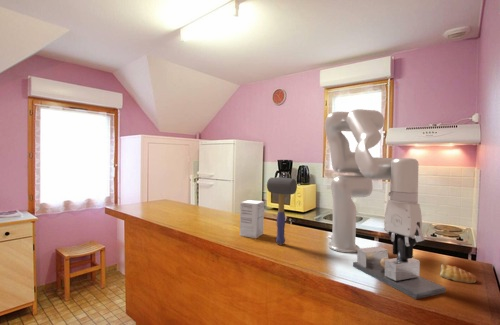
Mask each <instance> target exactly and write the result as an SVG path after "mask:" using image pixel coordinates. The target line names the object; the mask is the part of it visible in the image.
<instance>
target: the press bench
mask: <svg viewBox="0 0 500 325" xmlns="http://www.w3.org/2000/svg"><path fill="white" fill-rule="evenodd" d="M356 253H357V258H356V261H352V267H353V268H355V269H357V270H359V271H361V272H362V273H365V274H366V275H369V276H371V278H374V279H375V280H378V281H380V282H382V283H384V284H386V285H388V286H389V287H392V288H394V289H395V290H397V291H399V292H401V293H402V294H405V295H407V296H409V297H410V298H412V299H414V300H418V299H423V298H427V297H431V296H435V295H436V296H437V295H441V294H446V292H447V291H446V287H445V286H444V285H441V284H439V283H436V282H434V281H432V280H429V279H428V278H424V277H422V276H420V275H419V277H415V278H409V279H404V280H398V281H395V280H393V279H391V278H389V277H387V276H385V270H384V269H383V268H382V267H381V265H380V261H381V259H383V258H389V249H387V248H384V247H383V246H382V247H381V246H371V247H362V248H359V249H358V251H357V252H356Z"/></svg>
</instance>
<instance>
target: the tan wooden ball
mask: <svg viewBox="0 0 500 325" xmlns="http://www.w3.org/2000/svg"><path fill="white" fill-rule="evenodd" d="M386 259H390V258H389V257H388V258H383V259H381V261H380V265H381V267H382V268H383V269H384V270H385V260H386Z"/></svg>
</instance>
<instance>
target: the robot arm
mask: <svg viewBox="0 0 500 325" xmlns="http://www.w3.org/2000/svg"><path fill="white" fill-rule="evenodd" d="M384 124H385V117H384V115H383V113H381V112H380V111H379V110H375V109H353V110H352V111H333V112H330V113H329V114H328V115H327V116H326V117H325V121H324V132H325V136H326V139H327V142H328V145H329V153H330V161H331V166H332V170H333V171H334V172H335V173H339V174H344V175H337V176H335V177H334V178H333V179H332V180H331V183H330V189H331V196H332V233H331V234H330V235H328V238H329V239H330V242H328V248H329V249H331V250H333V251H337V252H341V253H350V254H351V253H357V251H358V249H360V246H359V245H357V244H356V233H357V231H356V230H357V229H356V227H357V208H356V205H355V202H354V201H353V199H352V198H367V197H369V196H370V195H372V193H373V180H374V181H376V180H377V181H378V180H379V181H380V180H382V181H383V180H384V181H390V183H389V184H390V188H389V189H390V190H389V191H390V192H388V194H387V196H389V199H388V200H387V202H386V206H385V212H384V225H383V227H384V231H385V233H387V234H388V235H389V237H390V240H391V242H392V255H394V256H397V234H399V235H403V236H405V245H404V246H403V258H404V259H410V258H414V246H416V245H417V243H419V242H423V241H425V237H424V235H423V221H422V220H423V218H422V210H421V205H420V203H419V201H418V200H419V165H420V164H419V161H418V160H417V159H416V158H412V157H411V158H408V157H404V158H403V157H398V158H397V157H396V158H395V157H373V155H372V154H371V152H370V151H369V150H370V149H372V148H373V147H375V146H376V145H378V144H379V143H380V141H381V140H382V134H381V131H380V130H381V129H382V128H383V127H384ZM342 132H351V133H352V135H353V137H354V138H355V141H356V142H357V144H356V147H355V150H354V151H353V152H352V150H351V148H350V142H349V140H348V138H347V137H346V136H345V134H343V133H342ZM346 174H353V175H346Z"/></svg>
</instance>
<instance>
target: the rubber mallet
mask: <svg viewBox="0 0 500 325" xmlns="http://www.w3.org/2000/svg"><path fill="white" fill-rule="evenodd" d="M297 189H298V183H297V180H296V179H295V178H289V177H282V176H281V177H278V176H277V177H270V178H268V180H267V182H266V190H267V191H268V192H269V193H273V194H278V207H277V208H278V210H277V215H276V216H277V217H276V227H277V228H276V230H277V231H276V239H275V241H276V243H277V245H280V246H281V245H284V244H285V243H286V242H285V241H286V238H285V228H286V227H285V226H286V213H285V195H295V194H296V192H297V191H298V190H297Z"/></svg>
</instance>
